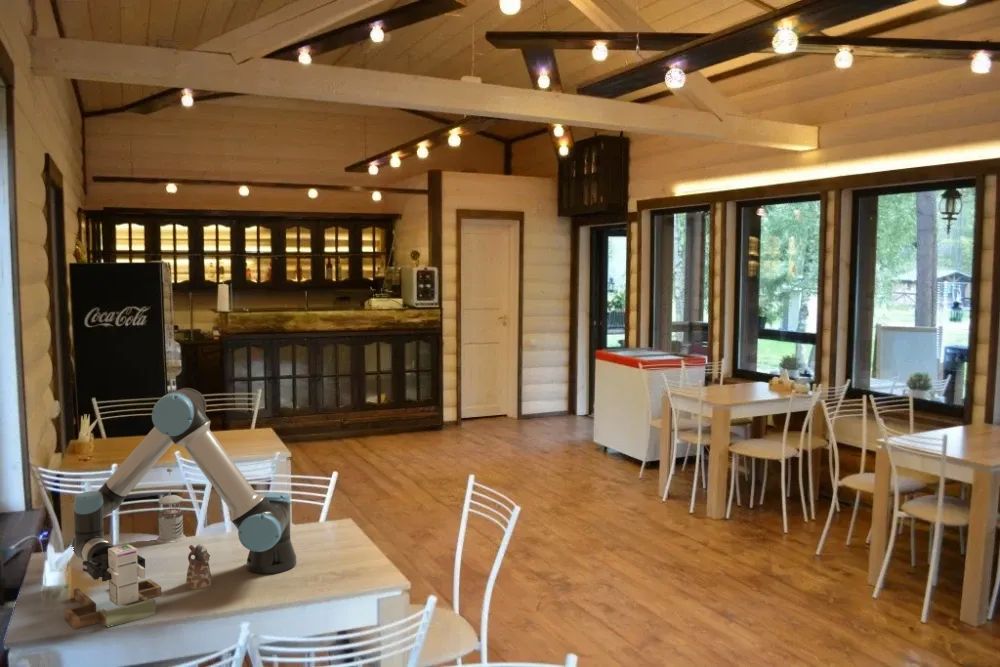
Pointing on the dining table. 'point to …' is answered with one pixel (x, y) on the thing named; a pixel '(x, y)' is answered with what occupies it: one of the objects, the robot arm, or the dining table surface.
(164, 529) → the french press
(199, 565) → the figurine
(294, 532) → the dining table surface
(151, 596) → the channel
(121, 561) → the syrup box
